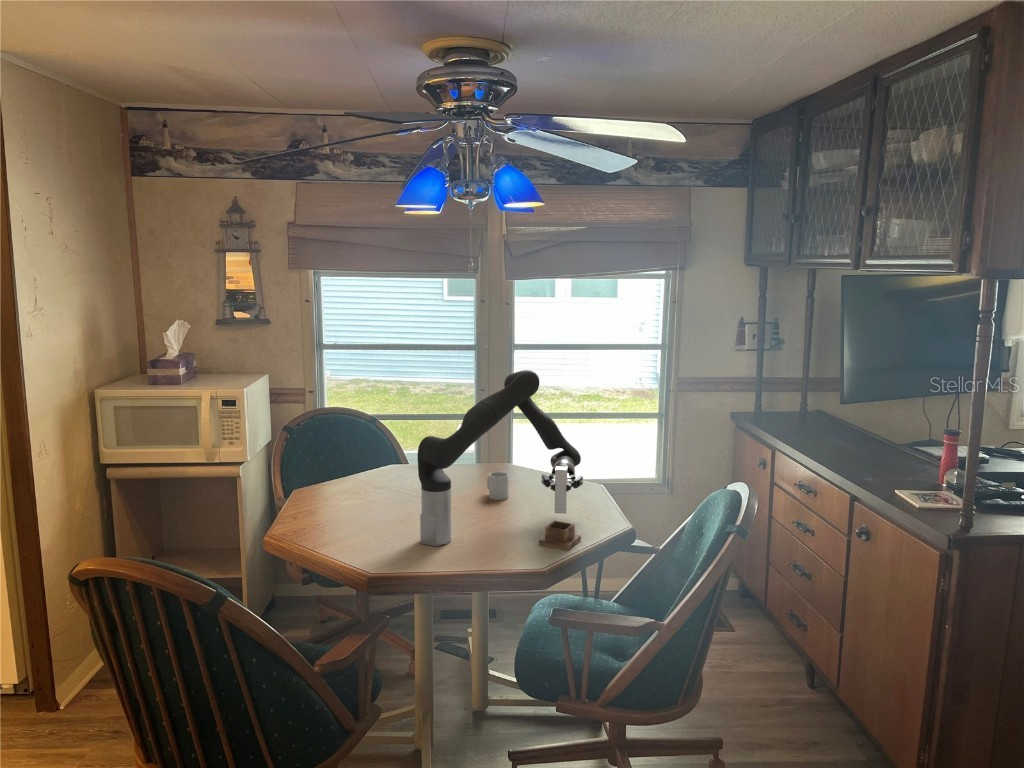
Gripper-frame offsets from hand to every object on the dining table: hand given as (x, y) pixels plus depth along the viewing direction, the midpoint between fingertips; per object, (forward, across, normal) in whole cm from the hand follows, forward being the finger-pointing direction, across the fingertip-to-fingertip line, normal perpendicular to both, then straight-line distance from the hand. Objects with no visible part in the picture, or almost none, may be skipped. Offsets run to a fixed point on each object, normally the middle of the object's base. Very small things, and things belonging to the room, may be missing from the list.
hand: (560, 488), depth 230 cm
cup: (-47, -26, +19) cm, 57 cm away
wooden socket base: (-3, 0, +18) cm, 19 cm away
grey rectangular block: (-3, 0, +8) cm, 9 cm away
